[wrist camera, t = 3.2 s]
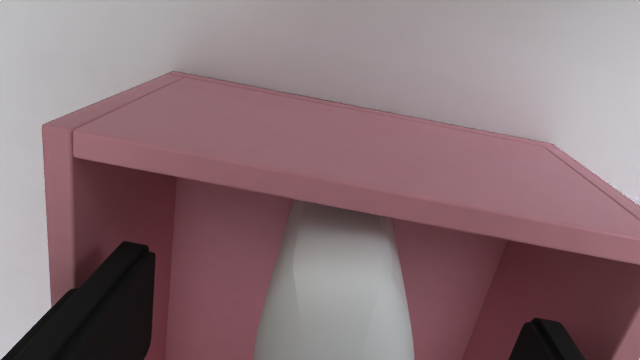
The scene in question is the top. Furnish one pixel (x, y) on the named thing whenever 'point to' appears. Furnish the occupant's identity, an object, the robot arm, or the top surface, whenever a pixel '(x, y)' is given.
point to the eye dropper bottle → (335, 290)
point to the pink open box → (342, 192)
